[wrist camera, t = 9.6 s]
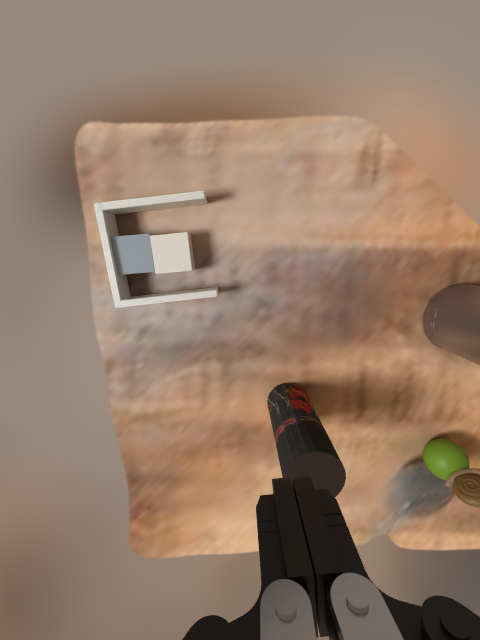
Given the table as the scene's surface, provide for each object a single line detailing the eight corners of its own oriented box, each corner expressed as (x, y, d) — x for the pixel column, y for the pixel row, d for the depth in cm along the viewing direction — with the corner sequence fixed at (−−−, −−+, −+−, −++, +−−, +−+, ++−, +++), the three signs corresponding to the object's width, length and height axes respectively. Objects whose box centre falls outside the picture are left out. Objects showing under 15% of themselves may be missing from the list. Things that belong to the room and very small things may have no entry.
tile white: (191, 234, 37) (187, 232, 34) (195, 269, 38) (191, 270, 35) (156, 237, 37) (149, 235, 34) (161, 272, 38) (155, 273, 35)
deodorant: (259, 402, 42) (270, 480, 27) (288, 374, 41) (316, 439, 27) (287, 427, 43) (313, 515, 28) (316, 400, 42) (358, 477, 27)
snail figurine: (460, 452, 44) (541, 522, 33) (420, 467, 45) (485, 542, 33) (451, 423, 43) (531, 485, 31) (410, 439, 44) (474, 506, 32)
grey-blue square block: (155, 235, 37) (148, 233, 34) (160, 270, 38) (154, 271, 35) (121, 238, 37) (111, 236, 34) (127, 273, 38) (118, 274, 35)
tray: (206, 197, 36) (203, 190, 33) (218, 292, 39) (217, 296, 35) (107, 208, 36) (93, 203, 33) (126, 303, 39) (115, 307, 35)
